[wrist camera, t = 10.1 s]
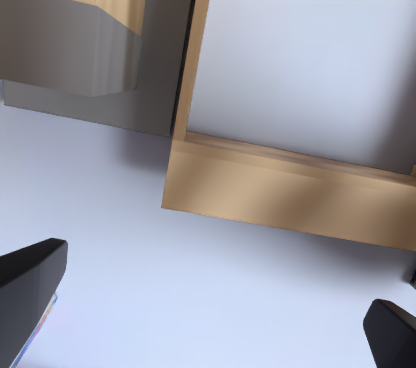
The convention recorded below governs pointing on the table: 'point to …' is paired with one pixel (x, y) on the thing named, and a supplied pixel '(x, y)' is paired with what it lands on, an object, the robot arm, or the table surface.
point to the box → (72, 44)
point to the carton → (282, 181)
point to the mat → (132, 99)
